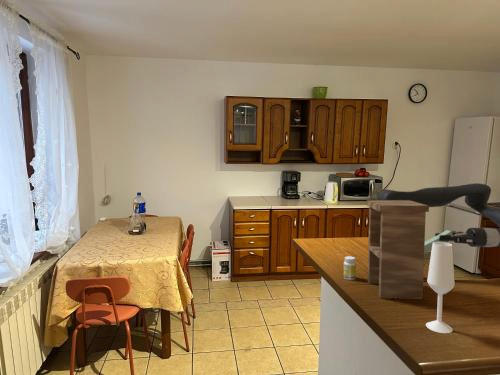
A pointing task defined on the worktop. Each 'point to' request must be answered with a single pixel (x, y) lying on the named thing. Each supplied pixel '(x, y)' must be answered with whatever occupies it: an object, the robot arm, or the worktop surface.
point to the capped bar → (435, 239)
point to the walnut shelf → (397, 247)
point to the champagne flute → (441, 280)
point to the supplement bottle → (349, 268)
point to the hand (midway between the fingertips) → (437, 237)
